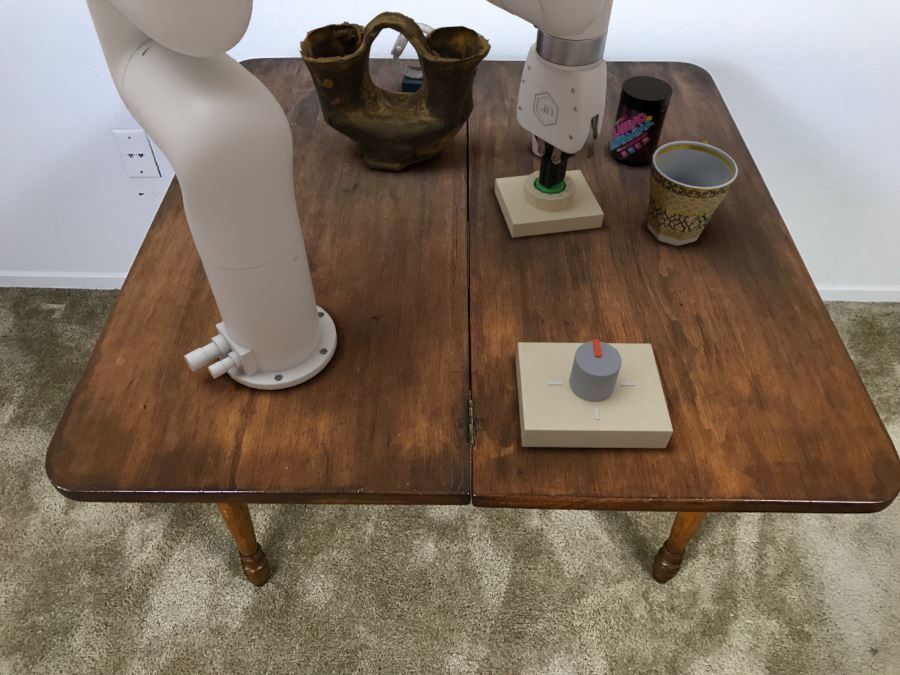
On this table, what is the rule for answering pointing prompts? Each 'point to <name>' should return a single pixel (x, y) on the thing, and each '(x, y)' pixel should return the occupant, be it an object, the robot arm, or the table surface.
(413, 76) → the watch
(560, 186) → the button
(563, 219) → the block
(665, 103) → the supplement container
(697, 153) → the ceramic cup
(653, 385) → the control panel
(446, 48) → the pottery vessel
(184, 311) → the table surface
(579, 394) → the program dial
